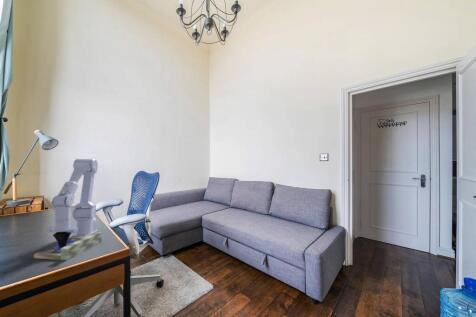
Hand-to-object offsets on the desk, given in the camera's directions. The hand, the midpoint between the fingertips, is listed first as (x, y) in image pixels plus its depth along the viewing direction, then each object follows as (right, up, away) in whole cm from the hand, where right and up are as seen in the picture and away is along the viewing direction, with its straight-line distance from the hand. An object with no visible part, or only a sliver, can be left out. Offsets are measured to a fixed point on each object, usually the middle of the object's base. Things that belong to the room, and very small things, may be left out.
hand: (62, 246), depth 95 cm
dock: (+5, -1, 0) cm, 5 cm away
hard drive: (+2, -2, +1) cm, 3 cm away
